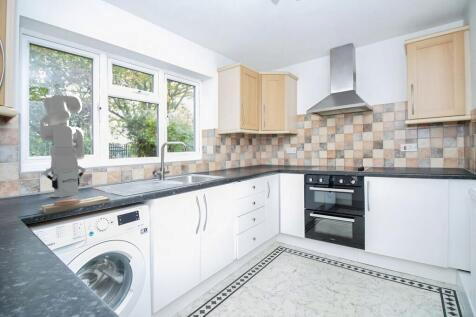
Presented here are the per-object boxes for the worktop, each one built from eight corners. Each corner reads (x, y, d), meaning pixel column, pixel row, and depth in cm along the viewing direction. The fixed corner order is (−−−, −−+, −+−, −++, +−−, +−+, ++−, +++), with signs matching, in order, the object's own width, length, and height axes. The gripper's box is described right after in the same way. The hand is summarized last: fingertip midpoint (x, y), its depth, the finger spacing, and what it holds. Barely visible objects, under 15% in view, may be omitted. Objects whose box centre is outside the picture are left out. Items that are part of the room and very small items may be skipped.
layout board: (41, 209, 109) (40, 203, 109) (101, 199, 129) (101, 194, 128) (46, 213, 102) (46, 206, 102) (109, 202, 121) (109, 196, 121)
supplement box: (61, 197, 107) (59, 170, 106) (54, 196, 111) (52, 170, 110) (79, 194, 113) (77, 169, 113) (71, 193, 117) (70, 168, 116)
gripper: (82, 150, 120) (84, 184, 121) (38, 151, 107) (41, 189, 108) (87, 150, 115) (89, 185, 116) (42, 151, 102) (45, 191, 103)
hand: (66, 187), depth 112 cm, fingers closed on supplement box, 8 cm apart
